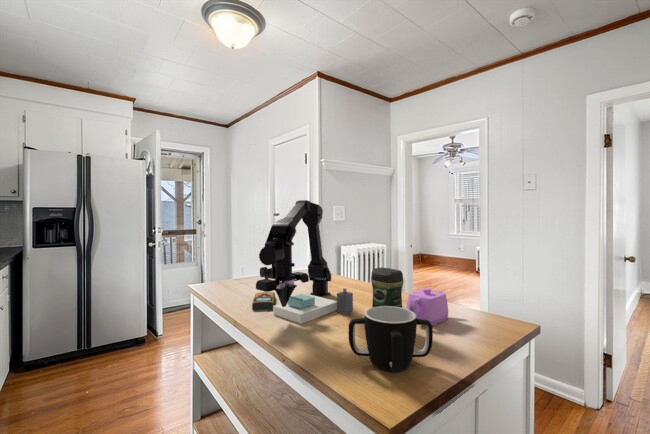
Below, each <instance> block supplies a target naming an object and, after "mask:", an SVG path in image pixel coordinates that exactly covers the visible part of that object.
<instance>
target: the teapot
mask: <svg viewBox="0 0 650 434" xmlns="http://www.w3.org/2000/svg"><path fill="white" fill-rule="evenodd" d="M406 301H407V302H406V307H405V309H408V310H410V311H412V312H414V313H415V314H416V316H417V319H423V320H428V321H429V322H430V323H431V325H432V327H434V326H436V325H435V324H437V325H439V324H442V323H444V322H446V321H447V320H448V318H449V304H448V299H447V295H446V293H444V292H442V291H435V290H432V289H431V288H427V287H425V288H422V289H420V290H415V291H412V292H410V293H408V296H407V300H406ZM446 319H447V320H446ZM443 321H444V322H443ZM441 322H442V323H441ZM438 323H439V324H438Z"/></svg>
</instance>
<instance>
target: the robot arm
mask: <svg viewBox="0 0 650 434" xmlns="http://www.w3.org/2000/svg"><path fill="white" fill-rule="evenodd" d="M323 213H324V212H323V208H322V206H321V205H319V204H317V203H314V202H312V201H310V200H305V199H304V200H303V199H302V200H299V199H298V200H297V201H295V204H294V206H292V208H291V209H290V210H289V212H288V213H287V214H286V215H285V217H283V218H281V219H278V220H277V221H275V222H274V223H273V224H272V225H271V227H270V230H269V233H268V235H267V238H266V241H265V243H264V247H262V248H261V249H260V251H259V253H258V257H259V261H260V262H261V264H262V265H264V266H263V267H260V268H259V276H260V277H261V279H258V280H257V281H256V283H255V290H258V291H262V292H274V291H275V292H276V293H275V294H276V295H277V297H278V300H279V303H280V304H281V305H282V307H286V305H287V303H288V301H289V298H290V296H292V294H293V292H294V290H295V289H296V288H297V287H298V285H297V284H295V282H297V281H301V282H300V283H308V282H309V281H312V286H311V287H312V292H310V293H309V295H314V296H318V297H322V298H323V297H325V296H328V295H331V292H329V282H332V276H333V275H332V273H331V271H330V268H329V266H328V262H327V260H326V259H325V258H324V257H323V248H322V239H321V232H320V224H321V221H322V219H323ZM301 220H302V222H303V223H304V224H305V226H306V227H307V234H308V235H307V236H308V241H309V250H310V258H311V260H310V262H309V264H308V265H307V272H300V271H295V272H293V267H295V262H293V260H292V259H293V258H292V257H293V256H292V255H293V251H292V250H293V249H292V246H294V244H295V243H294V242H293V239H294V237H295V235H296V234H297V229H296V227H297V225H298V224H299V223H300V222H301ZM267 266H271V267H270V268H268V267H267ZM262 278H263V279H262Z"/></svg>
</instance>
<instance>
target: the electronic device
mask: <svg viewBox="0 0 650 434" xmlns="http://www.w3.org/2000/svg"><path fill="white" fill-rule="evenodd" d="M275 303H276V293H275V292H274V291H269V292H264V291H262V292H256V293H255V295H254V297H253V300H252V305H251V308H252V309H251V310H252V311H264V310H265V311H266V310H273V306H275Z"/></svg>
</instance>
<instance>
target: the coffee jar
mask: <svg viewBox="0 0 650 434" xmlns="http://www.w3.org/2000/svg"><path fill="white" fill-rule="evenodd" d="M370 277H371V278H370V282H371V286H372V303H371V304H372V307H371V308H373V307H379V306H394V307H401V308H403V301H402V298H403V297H402V291H403V290H402V289H403V286H404V274H403V272H402V271H401V270H399V269H394V268H389V267H376V268H373V269H372V272H371V276H370Z"/></svg>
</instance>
